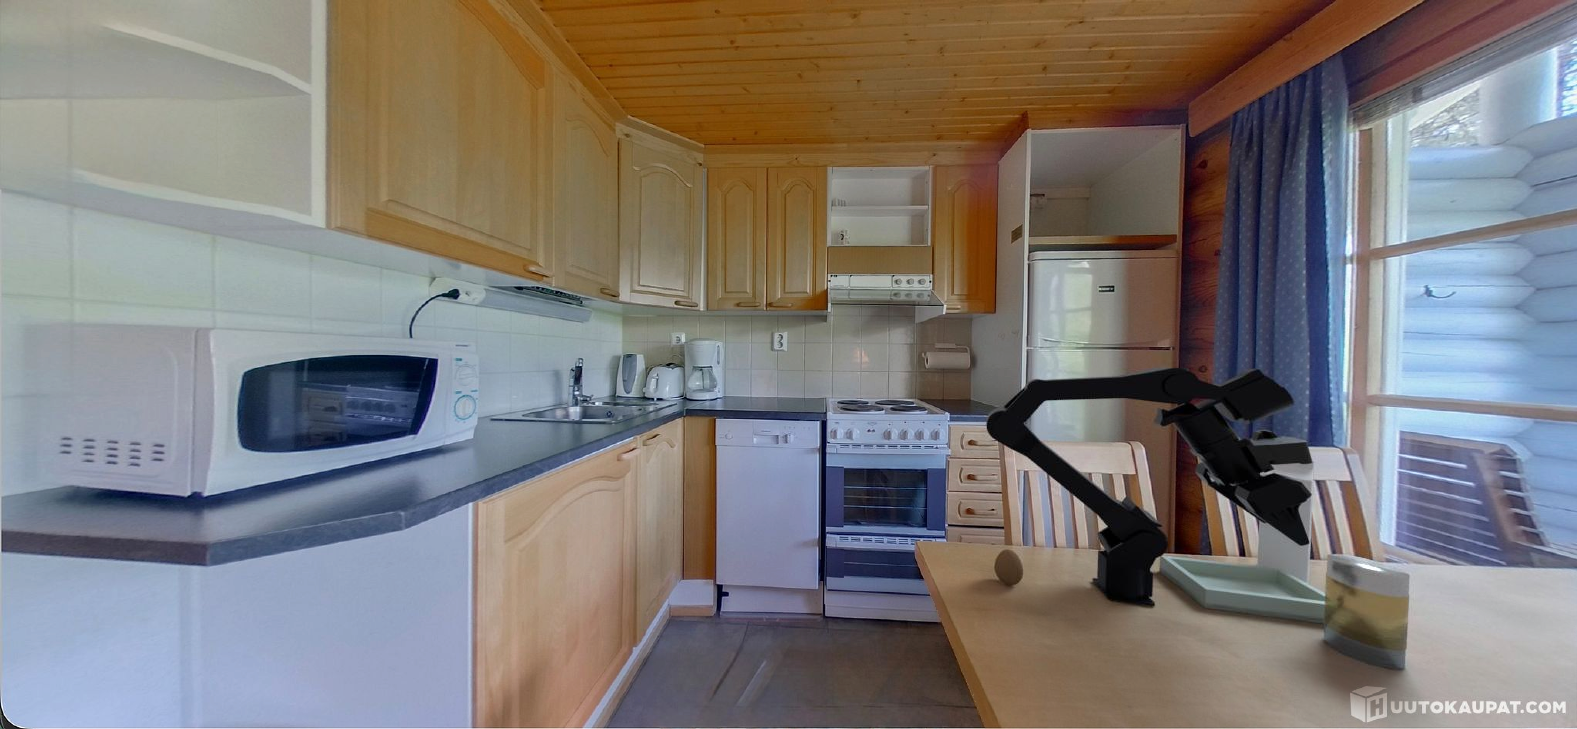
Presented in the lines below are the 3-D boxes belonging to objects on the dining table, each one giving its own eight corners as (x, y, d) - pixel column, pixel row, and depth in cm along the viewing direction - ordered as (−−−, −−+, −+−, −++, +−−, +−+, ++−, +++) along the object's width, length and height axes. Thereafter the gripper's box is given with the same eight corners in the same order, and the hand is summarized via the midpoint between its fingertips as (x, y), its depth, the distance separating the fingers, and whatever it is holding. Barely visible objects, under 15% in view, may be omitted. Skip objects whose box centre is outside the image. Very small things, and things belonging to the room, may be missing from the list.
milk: (1307, 587, 75) (1313, 463, 74) (1256, 572, 79) (1261, 456, 79) (1309, 576, 78) (1315, 458, 78) (1260, 563, 83) (1265, 452, 83)
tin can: (1356, 664, 56) (1361, 573, 55) (1308, 632, 62) (1312, 551, 62) (1424, 674, 54) (1429, 581, 54) (1367, 640, 60) (1371, 557, 60)
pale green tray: (1205, 607, 68) (1205, 589, 68) (1159, 570, 79) (1160, 555, 79) (1350, 627, 63) (1351, 607, 63) (1279, 585, 75) (1280, 568, 75)
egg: (994, 587, 72) (995, 552, 72) (993, 575, 77) (994, 542, 76) (1024, 593, 71) (1025, 558, 71) (1021, 580, 75) (1022, 547, 75)
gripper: (1314, 421, 55) (1412, 535, 51) (1241, 407, 71) (1311, 493, 68) (1215, 458, 59) (1298, 566, 55) (1168, 437, 76) (1230, 519, 72)
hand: (1285, 532), depth 63 cm, fingers open, 9 cm apart
